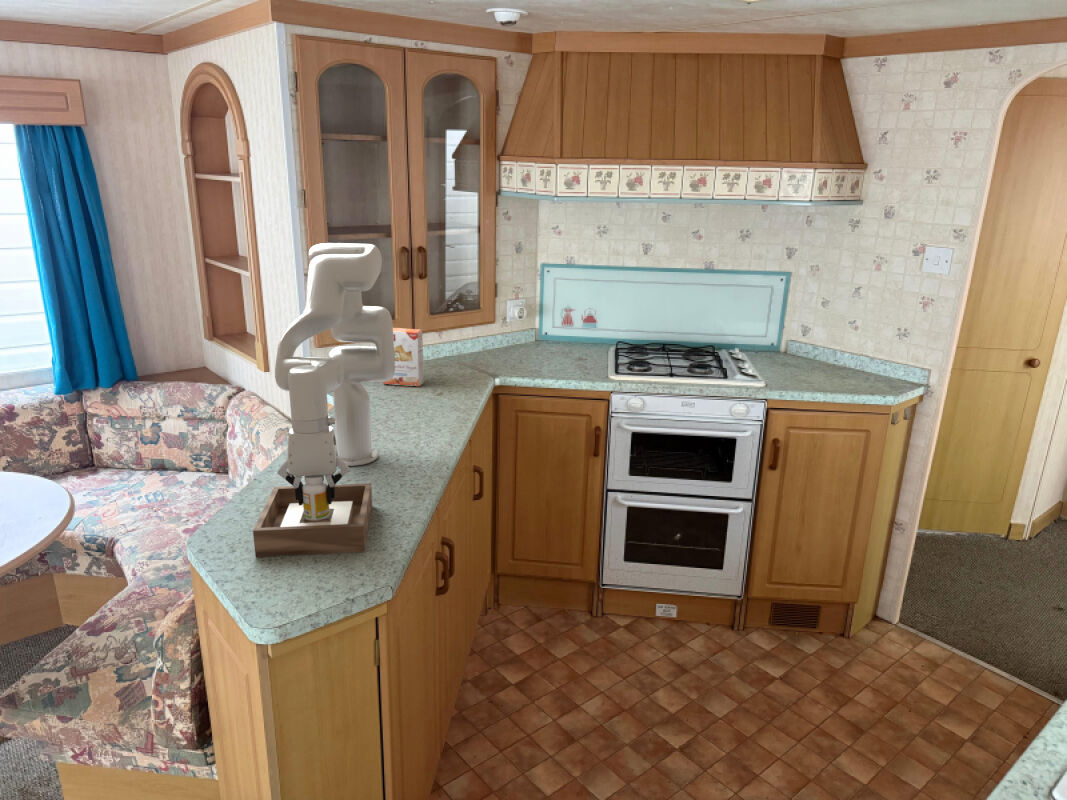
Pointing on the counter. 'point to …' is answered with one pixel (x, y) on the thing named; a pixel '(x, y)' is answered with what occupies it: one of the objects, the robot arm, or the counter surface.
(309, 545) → the open box
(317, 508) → the supplement bottle
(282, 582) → the counter surface
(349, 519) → the socket plate
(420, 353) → the cracker box
